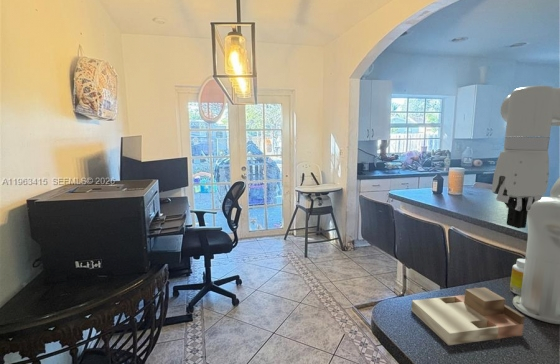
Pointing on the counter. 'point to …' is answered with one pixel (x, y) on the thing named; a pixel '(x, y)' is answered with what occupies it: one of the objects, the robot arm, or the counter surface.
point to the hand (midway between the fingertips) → (515, 226)
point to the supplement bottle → (517, 276)
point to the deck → (466, 320)
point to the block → (484, 301)
